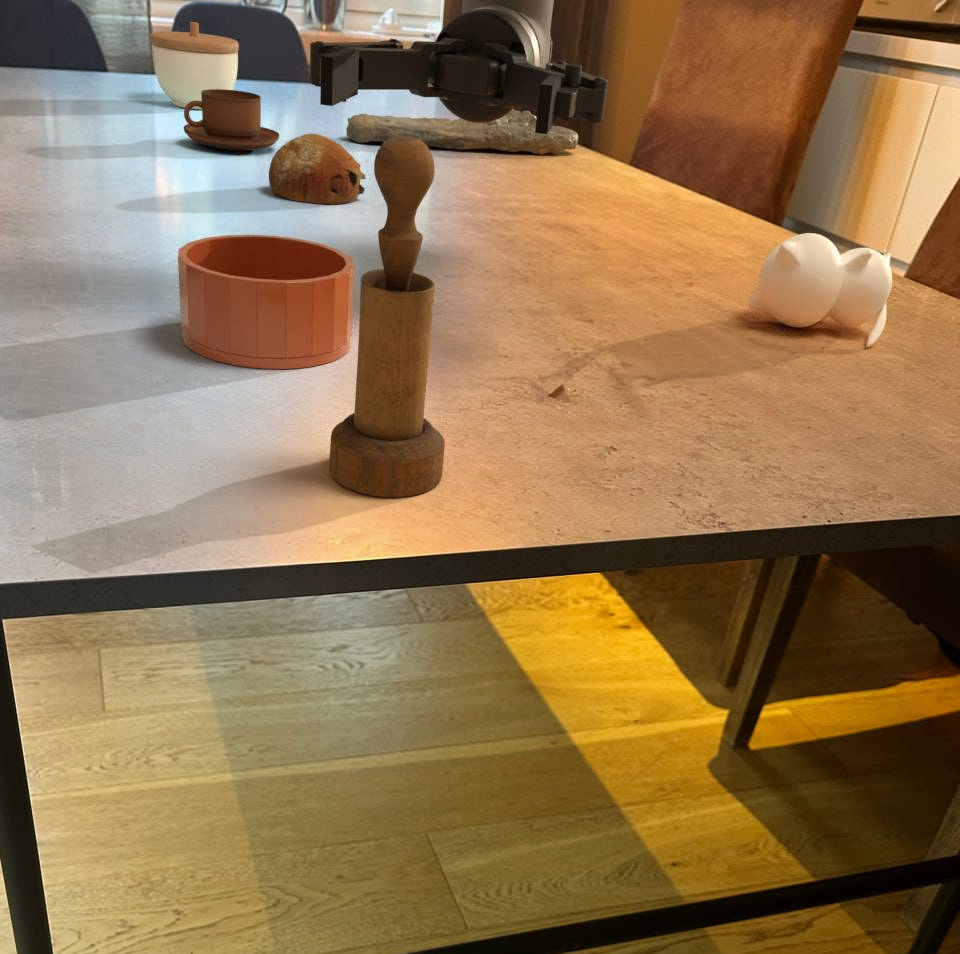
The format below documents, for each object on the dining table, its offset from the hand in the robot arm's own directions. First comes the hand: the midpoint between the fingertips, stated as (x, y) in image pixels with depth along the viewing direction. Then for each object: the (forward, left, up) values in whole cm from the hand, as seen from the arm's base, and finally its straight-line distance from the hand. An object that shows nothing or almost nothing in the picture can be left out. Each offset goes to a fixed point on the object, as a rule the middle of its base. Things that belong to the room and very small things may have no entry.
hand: (434, 95), depth 66 cm
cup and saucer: (-57, +60, -18) cm, 85 cm away
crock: (-12, 0, -18) cm, 22 cm away
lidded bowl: (-79, +83, -18) cm, 116 cm away
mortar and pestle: (+6, -15, -18) cm, 24 cm away
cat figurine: (+23, +35, -18) cm, 46 cm away
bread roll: (-35, +45, -18) cm, 60 cm away
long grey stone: (-38, +90, -18) cm, 100 cm away
